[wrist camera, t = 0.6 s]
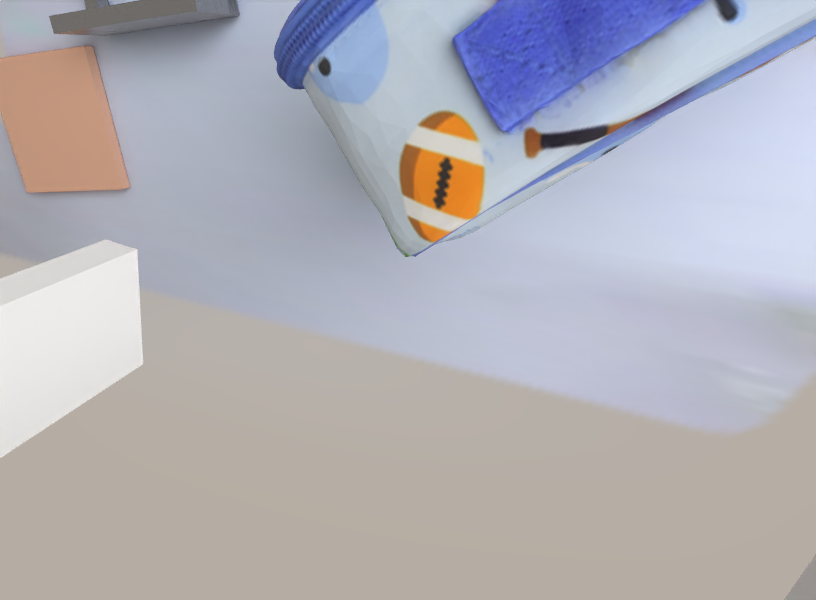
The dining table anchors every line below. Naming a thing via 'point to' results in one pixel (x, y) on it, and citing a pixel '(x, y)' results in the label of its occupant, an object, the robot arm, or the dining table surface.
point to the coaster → (60, 121)
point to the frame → (139, 15)
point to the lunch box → (510, 89)
